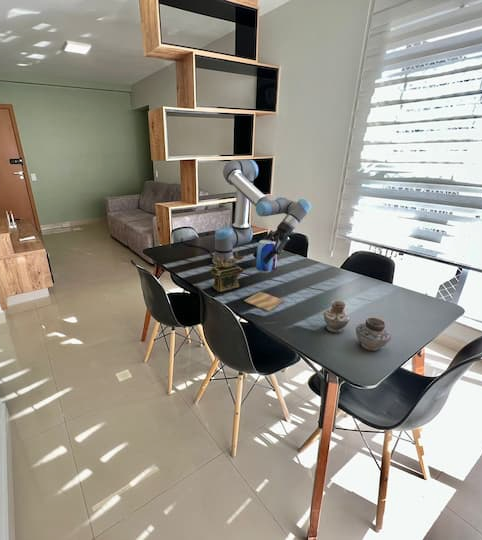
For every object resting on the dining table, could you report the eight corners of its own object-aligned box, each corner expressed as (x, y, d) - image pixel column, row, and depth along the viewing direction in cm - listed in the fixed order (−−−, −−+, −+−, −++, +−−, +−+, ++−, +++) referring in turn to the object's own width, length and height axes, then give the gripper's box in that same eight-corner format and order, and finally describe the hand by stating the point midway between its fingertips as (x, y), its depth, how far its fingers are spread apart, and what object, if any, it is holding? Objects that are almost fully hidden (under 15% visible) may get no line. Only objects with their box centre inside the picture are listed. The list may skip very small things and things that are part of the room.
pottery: (330, 319, 126) (334, 295, 122) (392, 347, 107) (400, 320, 103) (315, 328, 120) (319, 303, 115) (378, 360, 101) (385, 331, 97)
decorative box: (217, 293, 151) (217, 258, 144) (208, 286, 159) (208, 253, 152) (248, 285, 159) (250, 252, 152) (238, 279, 167) (239, 247, 160)
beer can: (262, 274, 147) (264, 244, 141) (252, 269, 154) (254, 240, 148) (275, 271, 151) (278, 242, 145) (264, 266, 158) (267, 238, 152)
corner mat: (243, 301, 143) (243, 300, 142) (260, 292, 152) (260, 291, 151) (267, 311, 133) (267, 310, 133) (283, 301, 142) (284, 300, 142)
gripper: (305, 235, 141) (275, 270, 142) (278, 225, 159) (252, 257, 160) (298, 225, 137) (267, 262, 138) (270, 217, 155) (244, 249, 156)
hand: (259, 259), depth 149 cm, fingers closed on beer can, 8 cm apart
